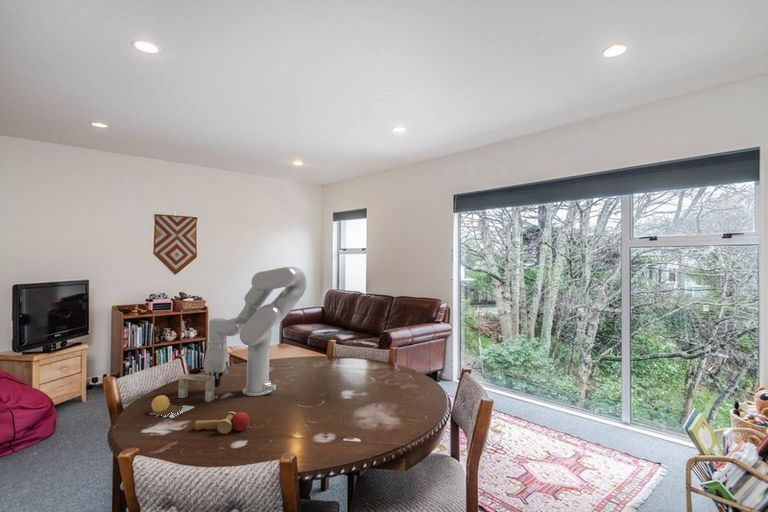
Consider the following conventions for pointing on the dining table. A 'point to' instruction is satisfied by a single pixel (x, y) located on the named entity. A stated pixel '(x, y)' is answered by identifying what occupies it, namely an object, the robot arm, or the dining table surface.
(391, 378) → the dining table surface
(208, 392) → the bridge
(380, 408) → the dining table surface
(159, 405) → the ball
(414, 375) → the dining table surface
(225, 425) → the kendama
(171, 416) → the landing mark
